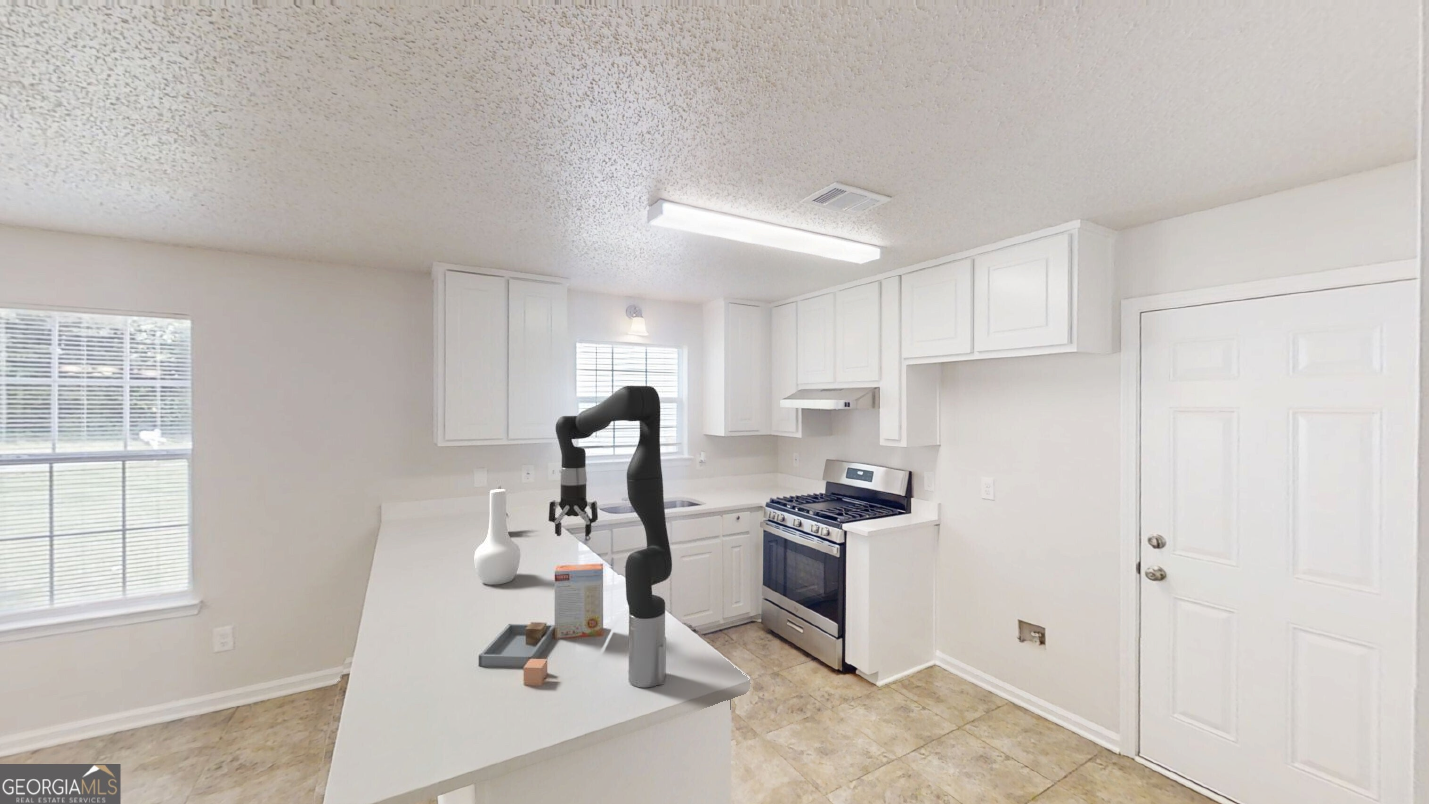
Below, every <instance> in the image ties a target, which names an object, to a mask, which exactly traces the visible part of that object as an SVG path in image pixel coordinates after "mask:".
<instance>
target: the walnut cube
mask: <svg viewBox="0 0 1429 804" xmlns="http://www.w3.org/2000/svg"><path fill="white" fill-rule="evenodd" d="M546 625H547V622H537V621H535V622H534V621H530V623H529V626H528V627H527V628H526V644H529V645H538V643H539V642H540V641H541V639H542V638H543V637H544V635H545V634H546Z"/></svg>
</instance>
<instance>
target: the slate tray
mask: <svg viewBox="0 0 1429 804" xmlns="http://www.w3.org/2000/svg"><path fill="white" fill-rule="evenodd" d="M529 624H530V623H529ZM529 624H528V623H523V624H522V623H508V624H507V626H506V627H505V628H504V629H503V630H502V631H501V632H500V633H499V634H498V635H497V636H496V637H495V638H494V639H493V640H492V641H491V642H490V643H489V644H488V645H487V646H486V647H485V648H484V649H483V650H482V651H481V653H480V654H479V655H478V667H494V668H495V667H500V668H501V667H502V668H505V667H507V668H524V666H525V665H526V664H527V662H528V661H529V660H530V659H539V657H540V656H541V655H542V653H543V652H544V650H545V649H546V647H547V646H548V645H549V643H550V642H551V640H552V639H553V638H554V637H555V624H546V634H545V635H544V637H543V638H542V639H541V641H540V642H539V643H538V645H529V644H526V628H527V627H528V626H529Z"/></svg>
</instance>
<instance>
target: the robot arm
mask: <svg viewBox="0 0 1429 804" xmlns="http://www.w3.org/2000/svg"><path fill="white" fill-rule="evenodd" d="M557 419H558V420H556V423H555V435H556V438H557V440H558V443H559V444H558V445H559V449H560V452H561V454H560V455H561V470H560V499H559V501H556V500H552V501H550V502H549V508H548V509H549V510H548V522H550V523H551V522H552V523H553V524H554V534H555V535H556V537H561V536H562V520H563V519H564V518H565V516H567V517H580V518H581V519H582V520H583V521H584V522H585V527H584V529H585V530H584V532H585V535H584V536H585V537H586V538H587V537H589V536H591V533H592V524H593V523H596V521H598V520H599V516H598V515H599V514H598V502H597V501H596V500H594V501H589V502H588V500H587V480H588V478H587V469H586V467H587V466H586V461H587V459H586V455H587V453H586V449H585V448H584V447H580V446H575V444H574V442H573V440H583V439H587V438H590V437H591V436H592V435H594V434H595V433H597V432H600V431H603V430H604V429H606V428H608V427H609V426H610V424H611V423H612V422H618V421H625V422H639V438H638V443H637V446H636V448H635V450H634V453H633V455H632V456H631V459H630V462H629V464H628V467H627V470H626V488H627V496H628V501H629V503H630V505H631V507H632V508H633V510H634V512H635V513H636V515H637V516H638V518H639V519H640V521H641V523H642V525H643V529H644V531H645V538H646V539H645V540H646V548H642V549H639V550H636V551H633V552H630V554H629V555H628V557H627V558H626V561H625V566H624V567H625V568H624V570H625V571H624V574H625V576H624V577H625V597H626V602H627V606H628V670H627V672H628V682H629V683H630V684H631V686H634V687H638V688H654V687H656V686H660V685H662V686H663V685H664V683H665V679H666V678H665V677H666V674H667V636H666V601H665V599H664V598H663V597H661V596H659V595H656V594H653V587H652V586H654V585H658V584H660V583H663V582H665V581H666V580H668V579H669V578H670V576H671V574H672V570H673V561H672V560H673V559H672V552H671V546H670V542H669V541H670V539H669V535H668V529H667V521H666V511H665V501H664V497H665V496H664V482H663V479H664V478H663V471H662V459H661V401H660V396H659V393H658V391H657V389H656V388H655V387H653V386H650V385H626V386H623V387H620V388H619V389H617V390H616V391H615V392H613V393H612V394H611V395H610V396H608V397H607V398H606V399H604V400H603V401H601V402H600V403H598V404H596V405H593V406H592V407H589V408H586V409H585V410H582V411H580V412H579V414H577V415H563V416H560V417H559V418H557ZM558 507H560V510H561V512H560V513H559V514H558V516H556V510H557V509H558ZM587 507H589V508H588V509H590V510H591V517H590V515H589V513H588V512H587V510H586V509H587Z"/></svg>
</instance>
